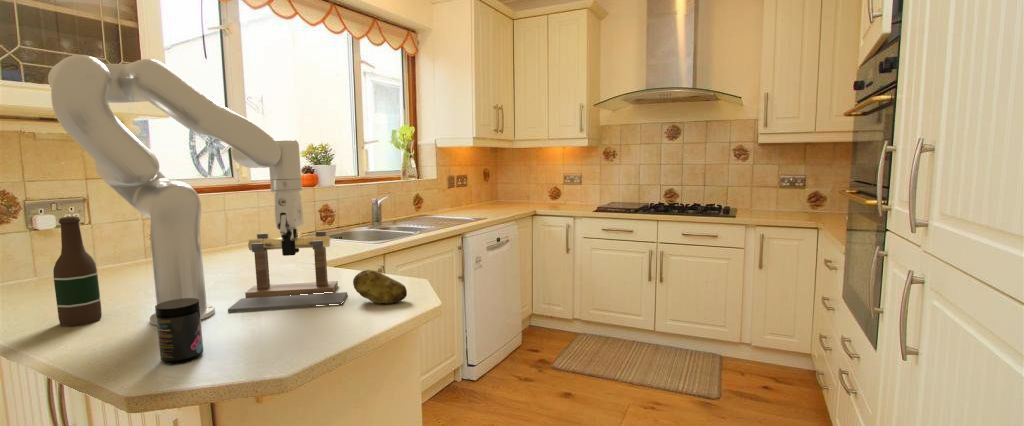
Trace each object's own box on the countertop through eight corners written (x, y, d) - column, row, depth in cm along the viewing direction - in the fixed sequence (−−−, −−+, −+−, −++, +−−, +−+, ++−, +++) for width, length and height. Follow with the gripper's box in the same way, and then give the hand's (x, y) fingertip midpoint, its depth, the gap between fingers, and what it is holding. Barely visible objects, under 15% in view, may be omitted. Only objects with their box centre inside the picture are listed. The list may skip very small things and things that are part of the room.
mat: (342, 305, 123) (341, 301, 122) (228, 312, 118) (227, 309, 118) (347, 295, 131) (347, 292, 131) (241, 301, 127) (241, 298, 127)
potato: (389, 310, 118) (388, 277, 117) (348, 303, 124) (346, 272, 123) (411, 300, 126) (409, 269, 125) (371, 295, 131) (369, 265, 130)
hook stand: (333, 292, 134) (330, 234, 132) (245, 298, 130) (240, 237, 128) (337, 286, 140) (334, 230, 139) (254, 291, 137) (249, 233, 135)
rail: (328, 247, 134) (327, 236, 134) (248, 251, 130) (247, 240, 130) (330, 245, 137) (329, 235, 137) (252, 249, 133) (251, 238, 133)
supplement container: (190, 365, 88) (185, 308, 87) (151, 366, 88) (145, 309, 87) (211, 350, 95) (207, 297, 94) (175, 351, 95) (170, 298, 93)
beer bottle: (109, 319, 114) (98, 215, 112) (66, 329, 108) (53, 220, 105) (95, 314, 118) (83, 214, 116) (52, 323, 112) (39, 218, 109)
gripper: (293, 187, 124) (298, 259, 127) (308, 183, 140) (312, 247, 143) (261, 188, 123) (266, 261, 125) (279, 184, 139) (284, 249, 141)
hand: (291, 253), depth 134 cm, fingers closed on rail, 3 cm apart
